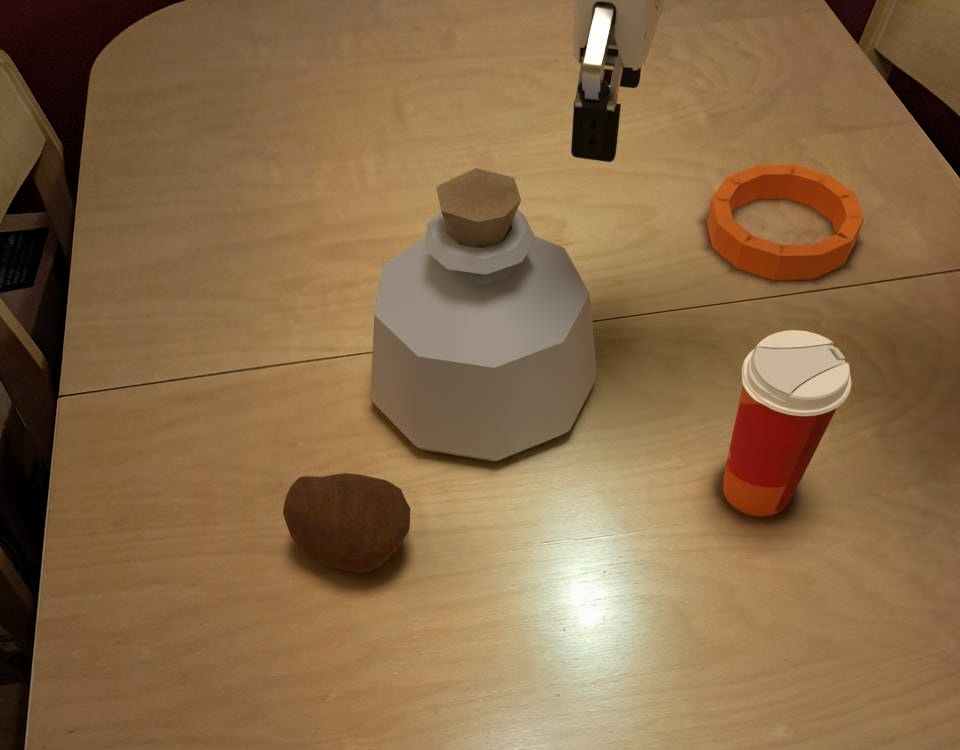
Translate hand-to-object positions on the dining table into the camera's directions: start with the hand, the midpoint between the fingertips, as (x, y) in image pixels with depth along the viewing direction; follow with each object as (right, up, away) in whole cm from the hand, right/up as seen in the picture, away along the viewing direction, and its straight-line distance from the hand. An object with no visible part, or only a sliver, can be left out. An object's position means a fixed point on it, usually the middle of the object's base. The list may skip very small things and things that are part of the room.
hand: (606, 119), depth 73 cm
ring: (+21, +1, +24) cm, 32 cm away
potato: (-20, -32, +5) cm, 38 cm away
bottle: (-9, -17, +14) cm, 24 cm away
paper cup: (+13, -27, +7) cm, 31 cm away
